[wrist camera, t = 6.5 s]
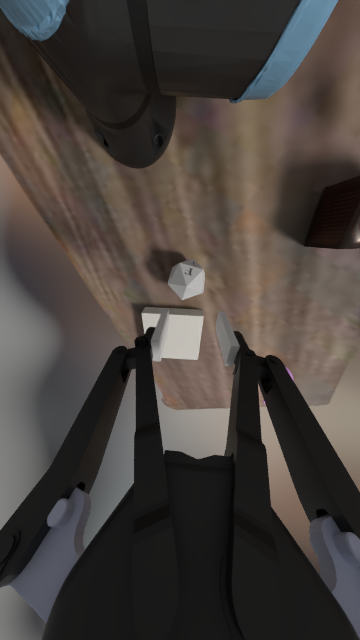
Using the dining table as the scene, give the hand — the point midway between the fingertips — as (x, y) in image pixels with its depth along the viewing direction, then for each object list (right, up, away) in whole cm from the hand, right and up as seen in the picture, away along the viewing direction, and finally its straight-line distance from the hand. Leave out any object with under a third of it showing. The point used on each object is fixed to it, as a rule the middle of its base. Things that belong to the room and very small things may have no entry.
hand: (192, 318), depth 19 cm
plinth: (-4, -4, +29) cm, 29 cm away
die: (0, +12, +19) cm, 22 cm away
